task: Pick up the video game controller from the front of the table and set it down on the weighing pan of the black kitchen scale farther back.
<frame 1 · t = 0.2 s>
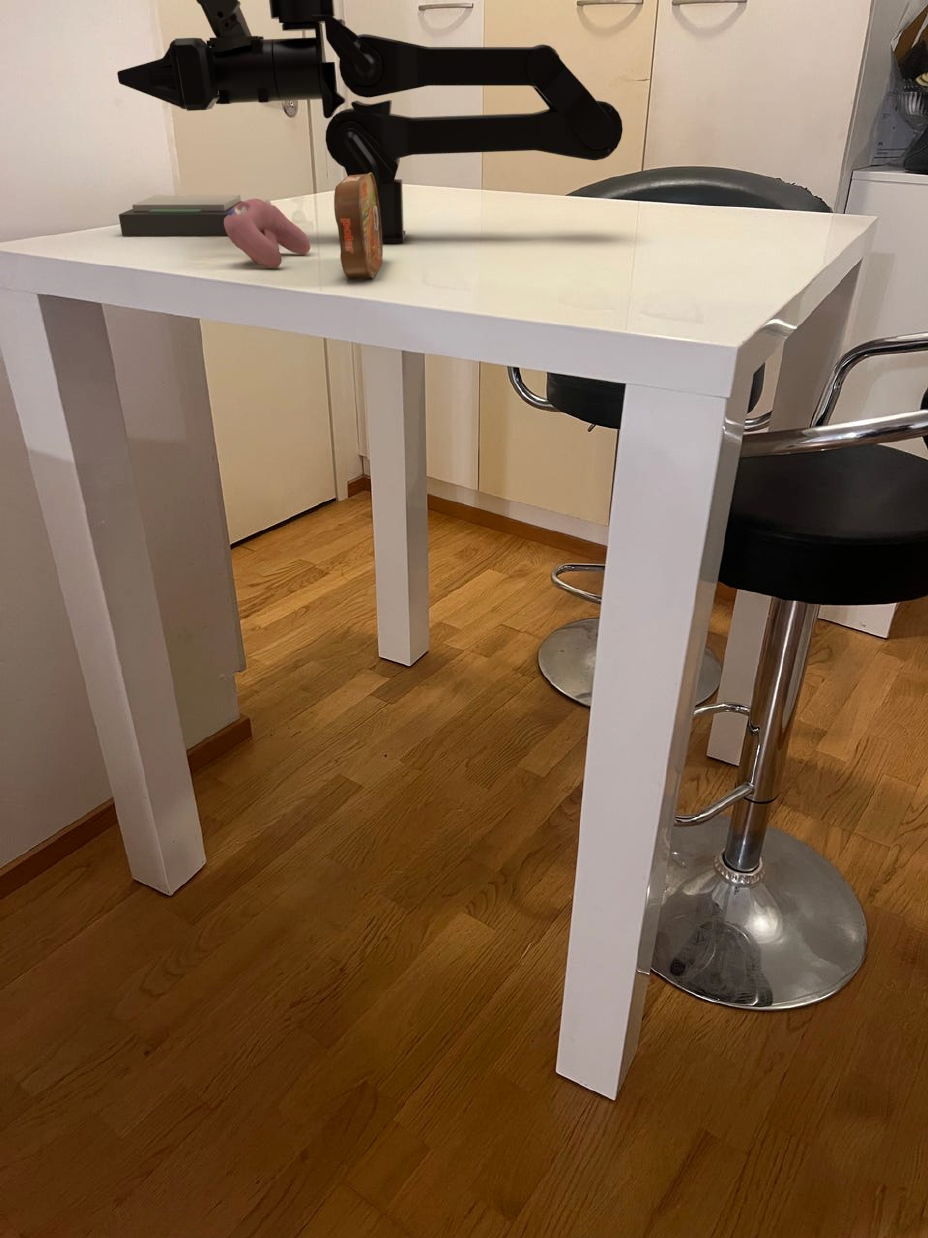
hand: (130, 76, 100), 16 cm above the table, tool horizontal, fingers open, 9 cm apart
scale: (190, 228, 117), on the table
video game controller: (270, 262, 97), on the table
tin: (362, 273, 92), on the table
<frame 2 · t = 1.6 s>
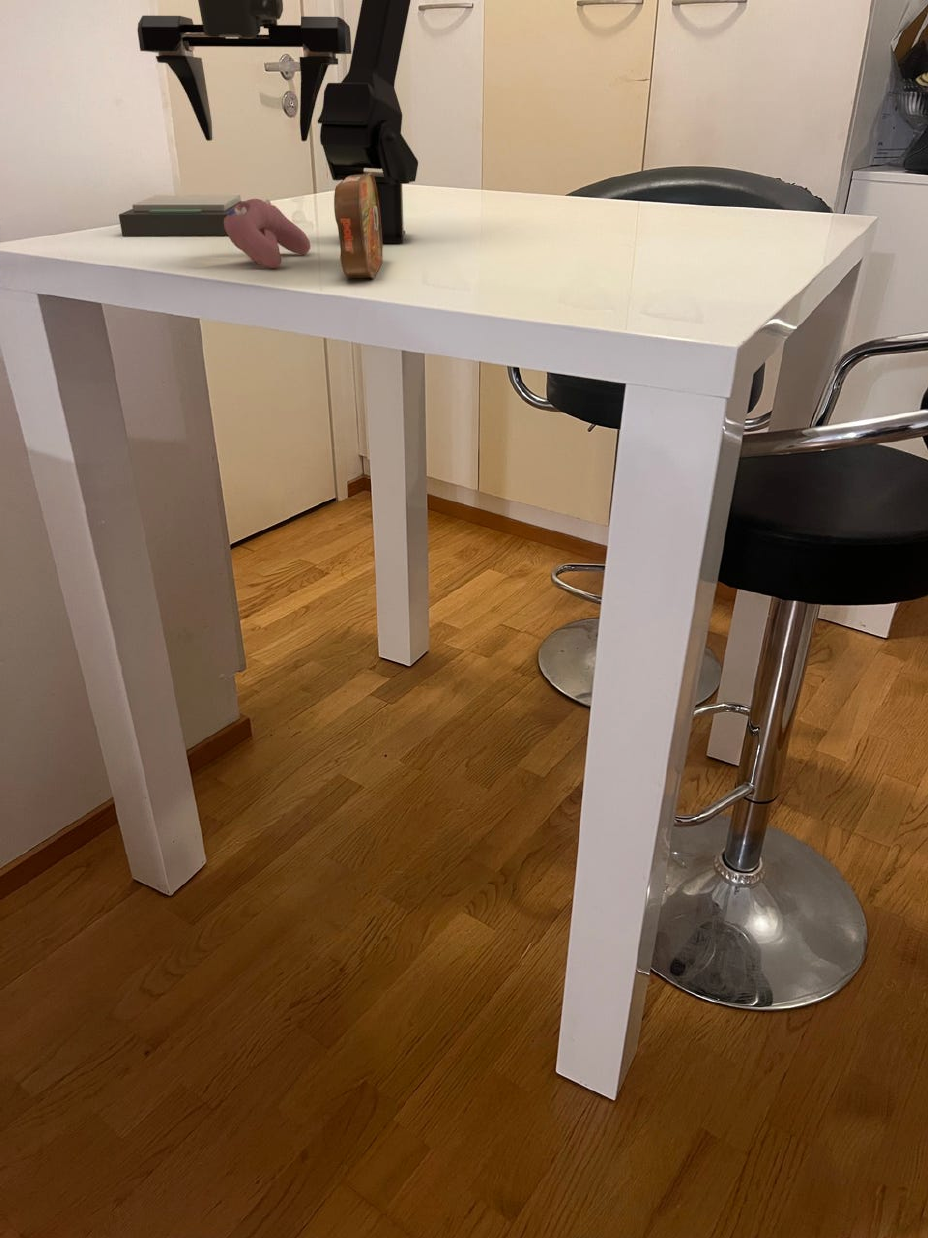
hand: (256, 140, 91), 11 cm above the table, tool pointing down, fingers open, 9 cm apart
nothing on the table moved.
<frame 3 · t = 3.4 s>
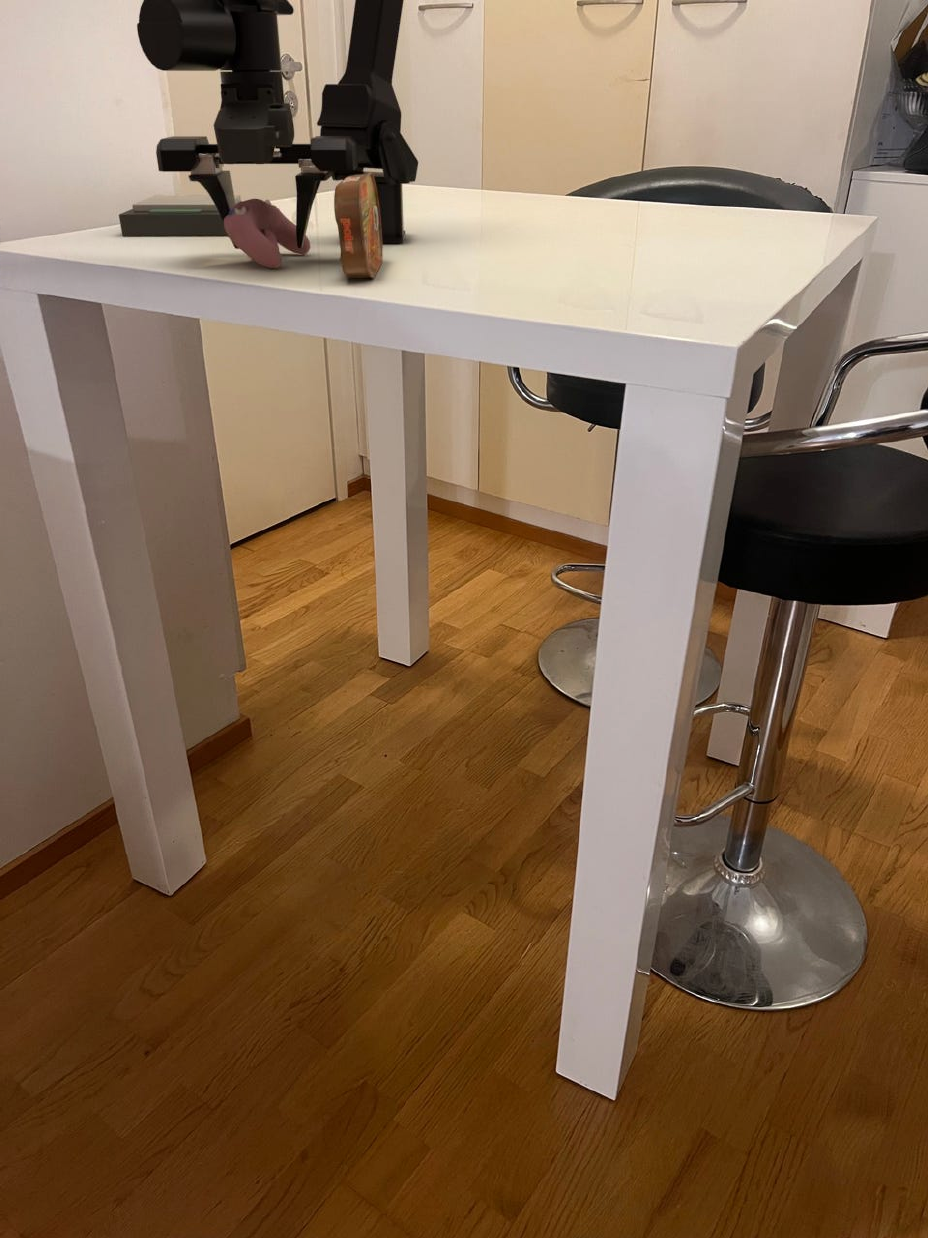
hand: (268, 247, 96), 1 cm above the table, tool pointing down, fingers closed on video game controller, 6 cm apart
video game controller: (270, 262, 97), on the table, touching gripper
everything else where it was.
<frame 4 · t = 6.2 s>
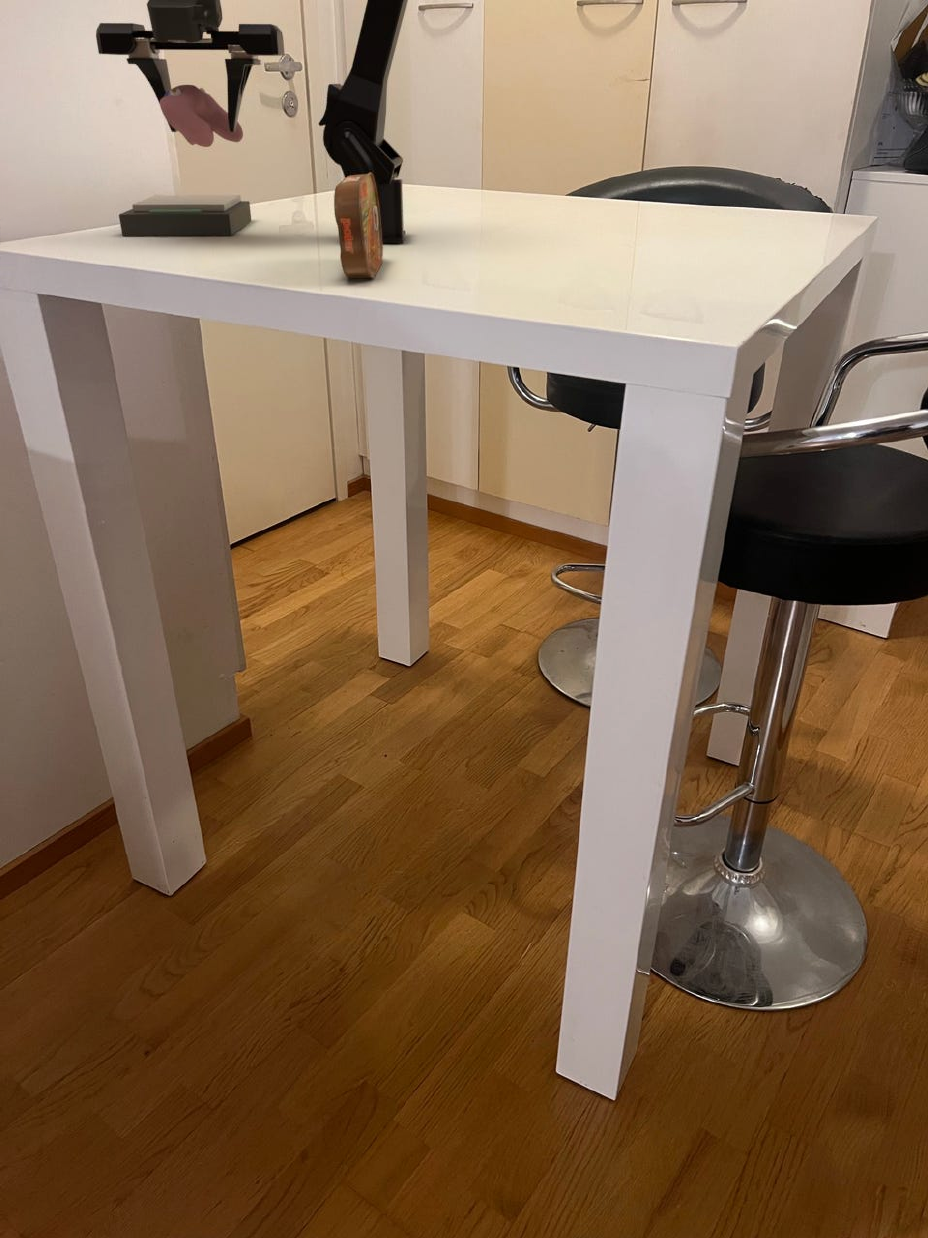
hand: (203, 131, 104), 11 cm above the table, tool pointing down, fingers closed on video game controller, 6 cm apart
video game controller: (204, 146, 105), point 10 cm above the table, touching gripper
everything else where it was.
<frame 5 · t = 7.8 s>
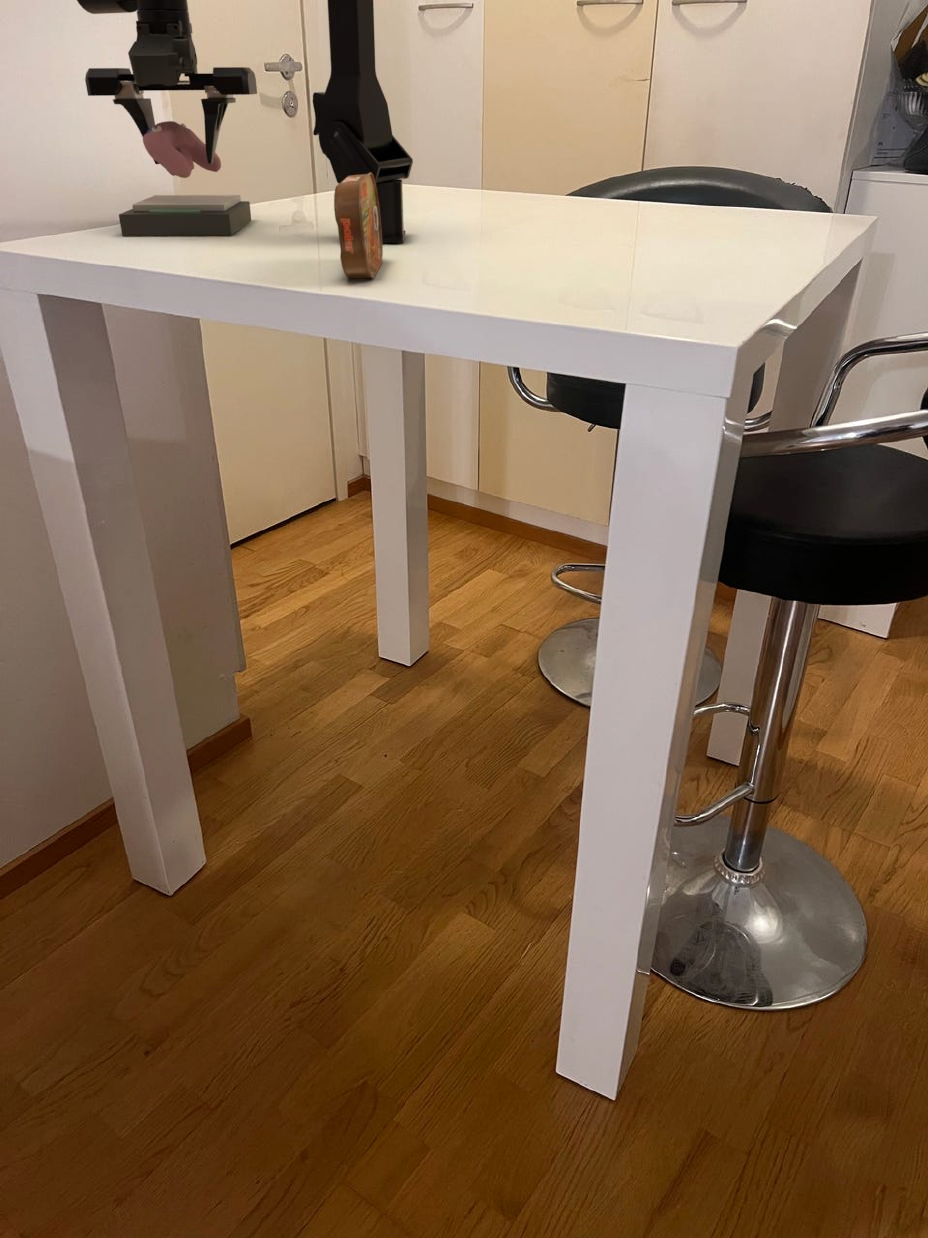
hand: (184, 163, 114), 7 cm above the table, tool pointing down, fingers closed on video game controller, 6 cm apart
video game controller: (185, 176, 115), point 6 cm above the table, touching gripper
everything else where it was.
when the fingers open (4 cm above the table, at t = 9.1 s): video game controller stays where it is, resting on scale.
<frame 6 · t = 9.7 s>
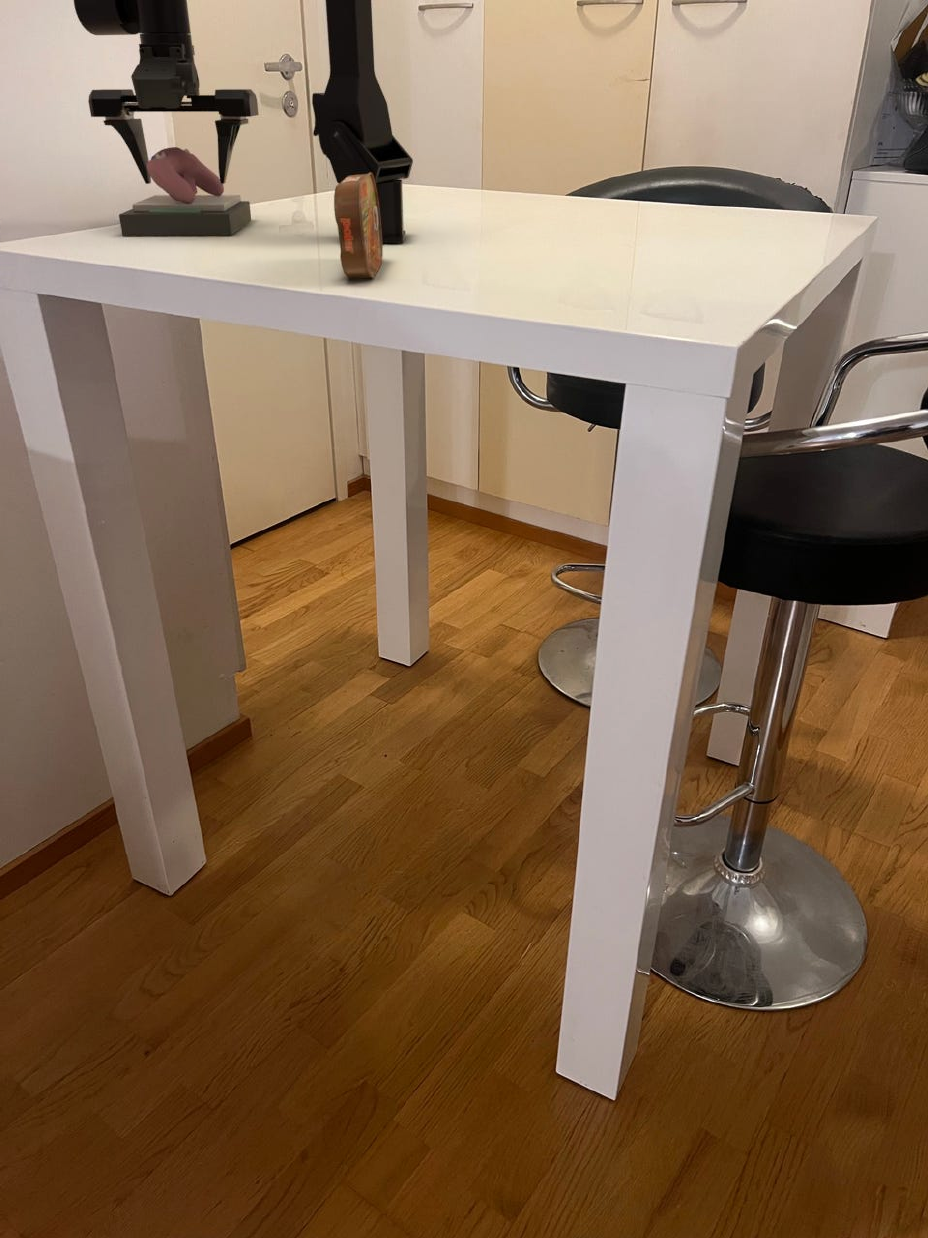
hand: (185, 183, 115), 5 cm above the table, tool pointing down, fingers open, 9 cm apart
video game controller: (188, 201, 116), point 3 cm above the table, touching scale
everything else where it was.
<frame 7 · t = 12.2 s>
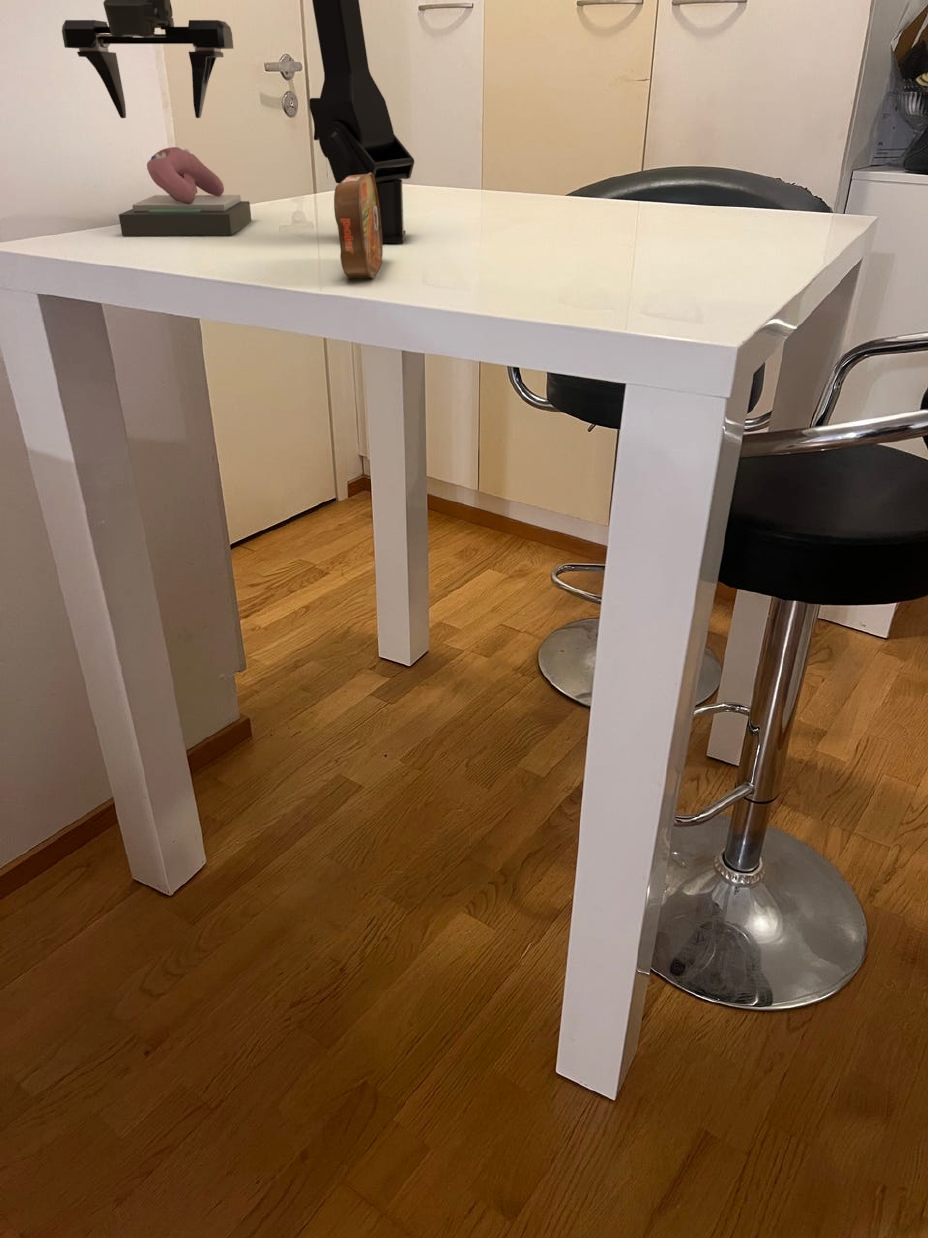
hand: (160, 117, 115), 12 cm above the table, tool pointing down, fingers open, 9 cm apart
nothing on the table moved.
at the end: video game controller inside the target area on the scale (0.2 cm from its centre), point 3.0 cm above the scale's base; the gripper is holding nothing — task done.
